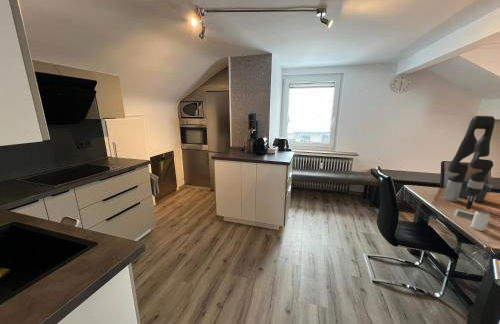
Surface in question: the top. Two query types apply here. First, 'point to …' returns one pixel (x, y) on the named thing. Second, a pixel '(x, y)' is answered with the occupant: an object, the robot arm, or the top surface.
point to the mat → (462, 211)
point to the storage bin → (478, 197)
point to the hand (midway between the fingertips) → (468, 208)
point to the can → (480, 220)
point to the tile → (465, 215)
